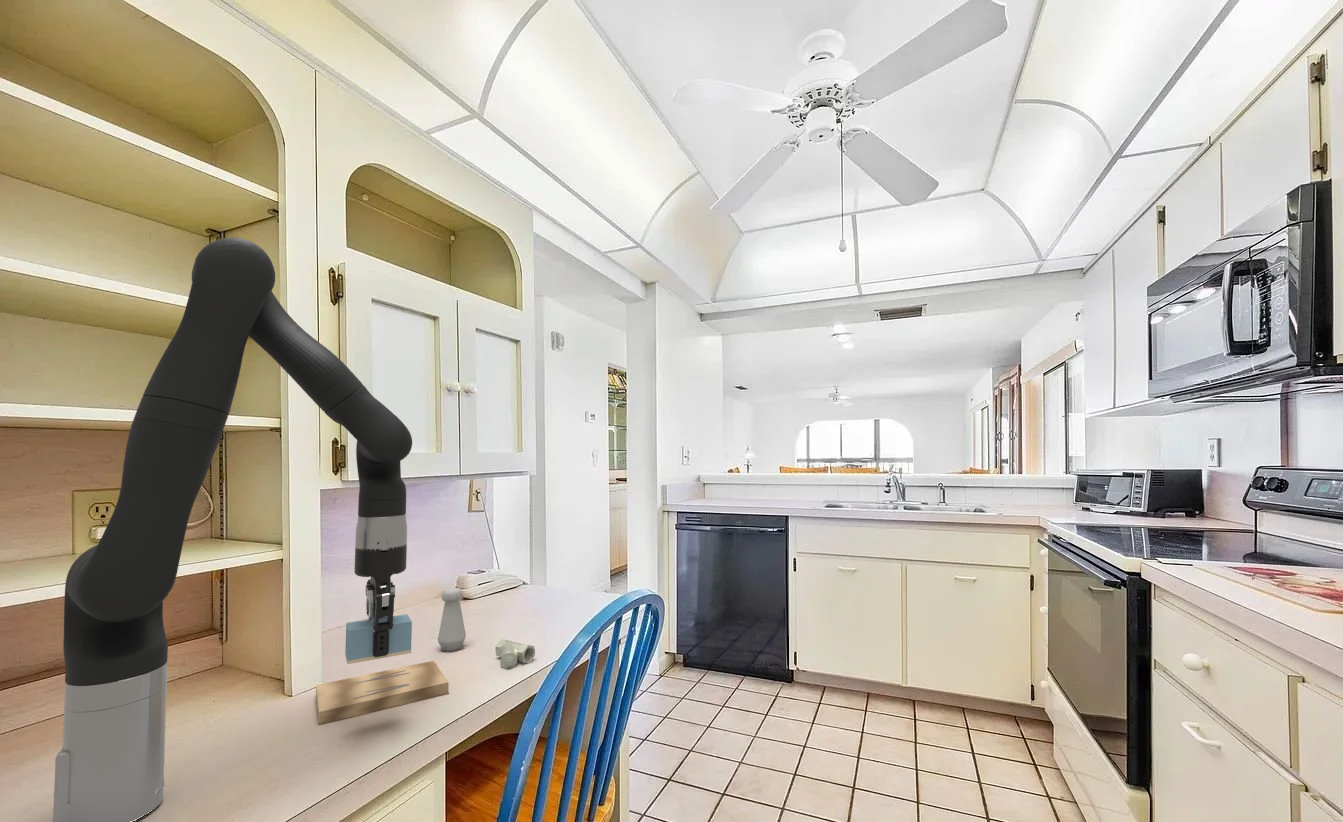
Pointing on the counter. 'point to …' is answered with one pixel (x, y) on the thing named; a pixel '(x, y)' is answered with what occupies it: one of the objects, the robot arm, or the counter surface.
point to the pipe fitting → (514, 652)
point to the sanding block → (362, 639)
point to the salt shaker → (451, 621)
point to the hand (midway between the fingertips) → (378, 650)
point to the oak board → (379, 691)
